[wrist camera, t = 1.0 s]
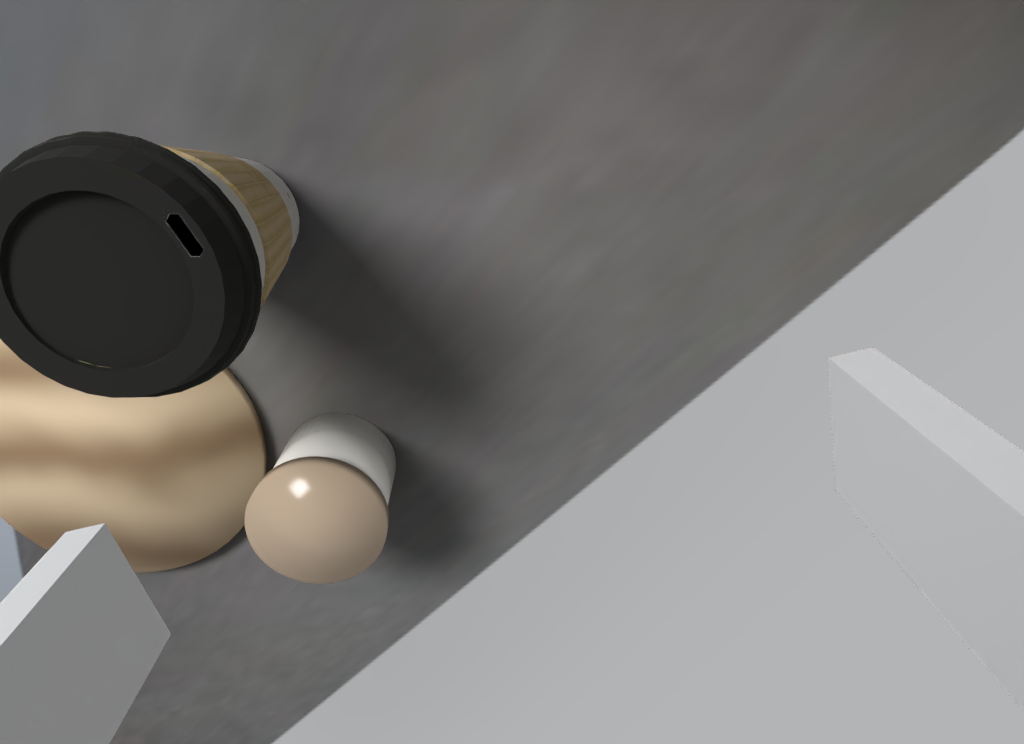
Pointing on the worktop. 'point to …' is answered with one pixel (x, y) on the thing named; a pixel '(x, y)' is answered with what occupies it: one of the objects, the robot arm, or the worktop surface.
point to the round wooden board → (128, 464)
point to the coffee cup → (136, 260)
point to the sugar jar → (324, 501)
